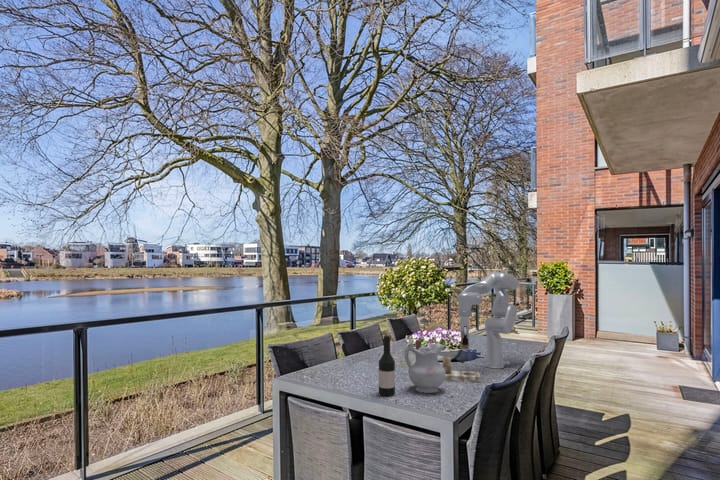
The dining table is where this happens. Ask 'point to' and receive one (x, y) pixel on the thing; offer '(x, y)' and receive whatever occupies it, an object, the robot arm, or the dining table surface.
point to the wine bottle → (386, 371)
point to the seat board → (459, 373)
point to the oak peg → (462, 342)
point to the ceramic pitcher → (426, 368)
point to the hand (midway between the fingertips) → (465, 343)
